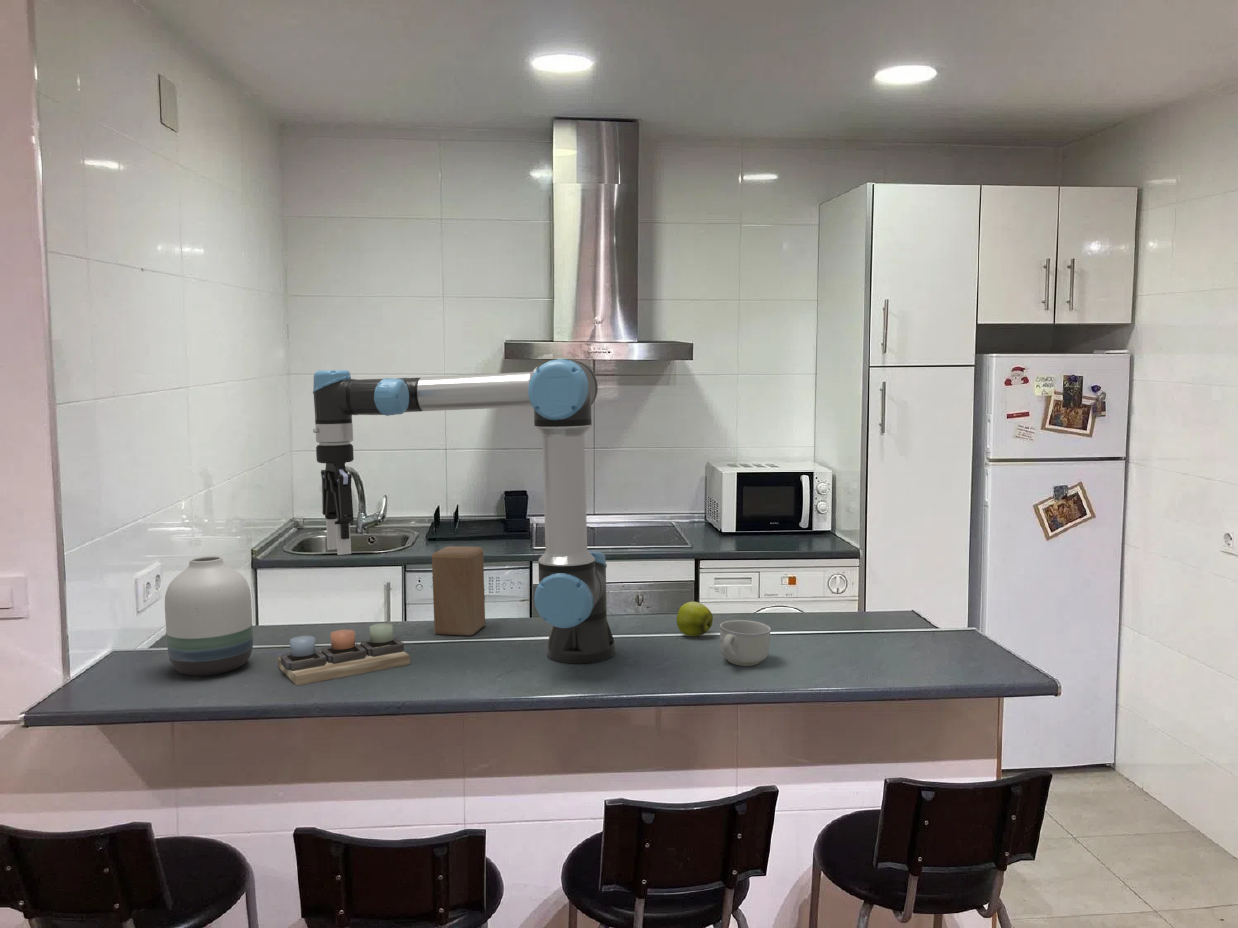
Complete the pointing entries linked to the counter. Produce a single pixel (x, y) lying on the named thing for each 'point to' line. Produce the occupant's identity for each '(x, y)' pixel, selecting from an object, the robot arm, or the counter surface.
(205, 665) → the vase
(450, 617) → the block
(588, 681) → the counter surface
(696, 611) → the apple
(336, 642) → the terracotta button
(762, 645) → the teacup
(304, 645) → the slate button
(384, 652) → the button panel
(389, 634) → the sage button
